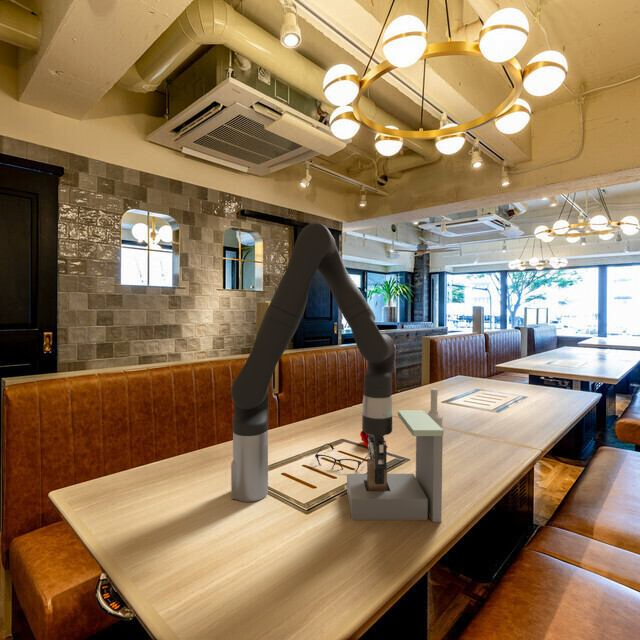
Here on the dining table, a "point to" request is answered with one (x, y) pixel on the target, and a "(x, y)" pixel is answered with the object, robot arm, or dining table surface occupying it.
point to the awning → (427, 457)
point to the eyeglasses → (338, 460)
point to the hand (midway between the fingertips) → (376, 476)
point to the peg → (371, 477)
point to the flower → (364, 437)
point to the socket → (387, 499)
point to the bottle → (435, 408)
